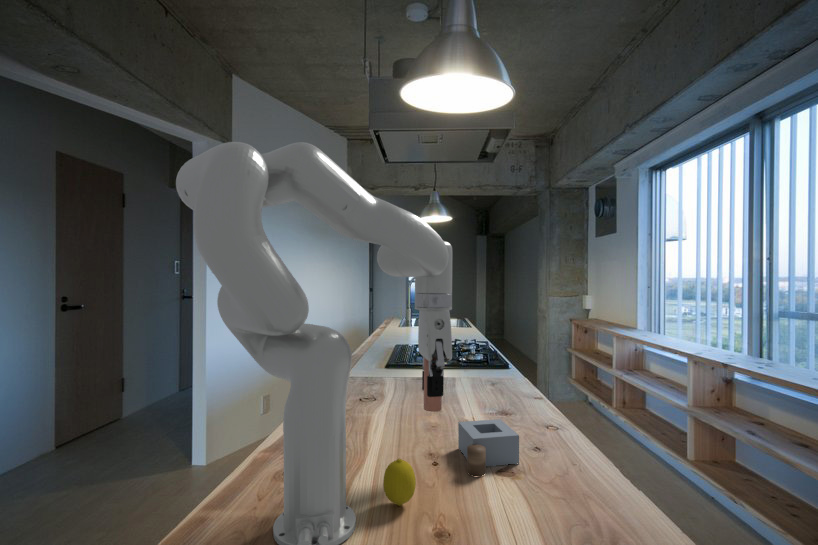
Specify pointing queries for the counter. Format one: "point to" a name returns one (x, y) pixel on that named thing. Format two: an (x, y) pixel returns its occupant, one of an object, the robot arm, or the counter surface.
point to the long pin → (429, 402)
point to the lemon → (399, 482)
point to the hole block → (490, 440)
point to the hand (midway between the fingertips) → (432, 392)
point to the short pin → (476, 460)
